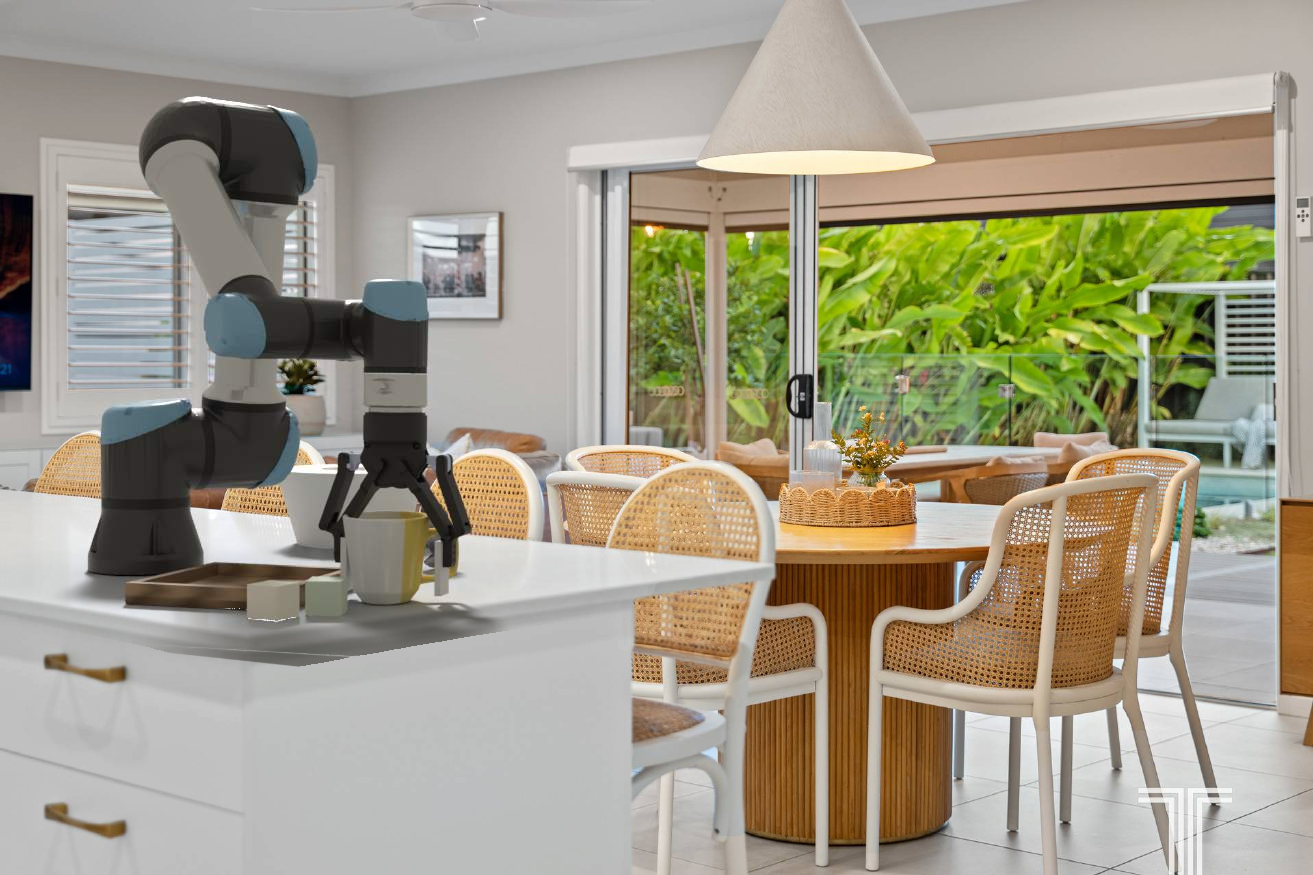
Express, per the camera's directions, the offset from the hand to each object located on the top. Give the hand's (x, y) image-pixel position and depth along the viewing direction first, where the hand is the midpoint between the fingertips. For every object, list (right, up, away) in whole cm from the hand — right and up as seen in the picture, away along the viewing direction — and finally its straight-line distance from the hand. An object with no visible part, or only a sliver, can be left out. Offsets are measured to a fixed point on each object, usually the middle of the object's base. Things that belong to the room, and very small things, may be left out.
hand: (394, 592), depth 173 cm
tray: (-19, -1, +3) cm, 19 cm away
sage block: (-6, -2, -9) cm, 11 cm away
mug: (+1, -1, 0) cm, 1 cm away
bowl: (-18, +1, +61) cm, 63 cm away
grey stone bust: (0, 0, +31) cm, 31 cm away
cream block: (-11, -2, -13) cm, 17 cm away
